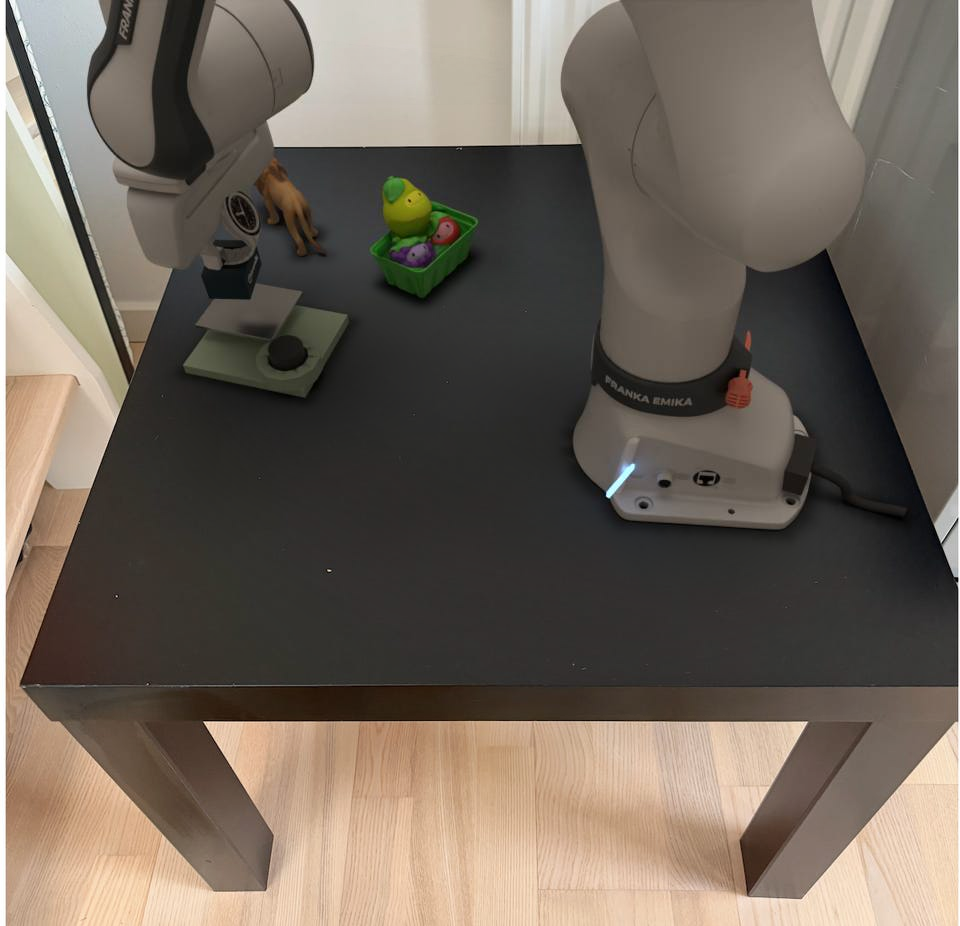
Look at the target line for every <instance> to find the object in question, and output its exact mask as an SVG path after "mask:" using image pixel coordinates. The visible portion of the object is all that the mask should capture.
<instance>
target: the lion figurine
mask: <svg viewBox="0 0 960 926" xmlns="http://www.w3.org/2000/svg"><path fill="white" fill-rule="evenodd" d="M252 186H255V187H256V190H257V191H258V193H259V194H260V195H261V196H262V198H263V201H264V204H265V207H266V209H267V211H268V212H269V217H268V218H267V224H269V225H276V224H278V223H279V222H280V216H279V213H278V212H277V209H276V206H277V207H278V209H280V210H281V211H282V213H283V218H284V221H285V225H286V227H287V229H288V231H289V233H290V235H291V236H292V238H293V239H294V241H295V243H296V246H297V247H298V248H297V249H296V254H297V256H298V257H304V256H306V255H307V253H308V251H307V248H306V246H305V243H304V240H303V239H302V237H301V235H300V234H299V230H298V219H299V222H300V225H301V227H302V230H303V232H304V235H305V236H306V239H307V240H308V241H309V243H310V244H311V245H312V246H313V247H314V248H315V249H316V250H317V251H318V253H320V254H326V253H327V252H328V251H327V249H325V248H324V247H323V246H322V245H321V244H319V243H318V242H316V241H315V240H314V238H315V237H317V236H318V234H319V233H318V230H317V229H316V228H315V227H314V224H313V219H312V218H313V217H312V213H311V211H312V210H311V208H310V205H309V203H308V200H307V198H306V197H305V196H304V194H303V193H302V192H301V191H300V190H298V189H297V188H296V187H295V185H294V184H293V183H292V182H291V180H289V178H288V173H287V170H286V169H285V167H284V165H283V164H282V163H280V162H279V160H278V159H277V158H275V156H274V155H273V160H272V161H271V163H270V164H269V165H268V166H267V168H266V169H265V170H264V172H263V173H262V174H261V175H260V177H259V178H258V179H257V180H256V182H255V183H254V184H253V185H252Z"/></svg>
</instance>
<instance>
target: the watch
mask: <svg viewBox="0 0 960 926" xmlns="http://www.w3.org/2000/svg"><path fill="white" fill-rule="evenodd" d="M234 195H237V196H235V198H234V197H233V198H232V196H234ZM221 217H222V225H221V226H222V227H223V228H224V230H226V232H228V234H229V235H231V236H232V237H233V238H235V239H215V241H214V242H213V243H212V244H213V245H214V246H215V247H223V248H224V250H225V256H226V257H227V260H226V262H225V263H224V265H223V266H222V268H221V269H220V270H214V269H208V268H207V267H206V266H205V265H204V266H203V269H202V272H201V274H200V277H201V280H202V282H203V285H204V288H205V291H206V294H207V296H208V299H209V300H214V299H239V300H251V297H252V293H253V290H254V287H255V284H256V283H257V281H258V278H259V274H260V271H261V269H262V265H263V264H262V263H263V262H262V260H261V257H260V253H259V250H258V246H257V245H258V243H259V238H260V235H261V231H262V218H261V215H260V212H259V209H258V207H257V206H256V204H255V203H254V201H253V200H252V198H251V199H250V198H249V197H248V196H247V195H246V194H245V193H244V192H242V191H238V192H234V193H232V194H231V195H228V196H227V197H226V198H225V200H224V204H223V209H222V211H221ZM197 256H198V257H200V258H201V259H202V256H201V254H198V255H197Z"/></svg>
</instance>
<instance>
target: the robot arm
mask: <svg viewBox="0 0 960 926" xmlns="http://www.w3.org/2000/svg"><path fill="white" fill-rule="evenodd" d="M98 5H99V8H100V11H101V15H102V18H103V22H104V24H105V31H104V34H103V37H102V39H101V41H100V42H99V44H98V45H97V47H96V48H95V50H94V51H93V52H92V55H91V57H90V61H89V66H88V69H87V70H88V71H87V77H86V101H87V108H88V113H89V115H90V118H91V121H92V124H93V126H94V128H95V130H96V132H97V134H98V135H99V138H100V139H101V140H102V142H103V143H104V145H105V146H106V148H107V149H108V150H109V151H110V153H112V154H113V156H115V157H114V160H113V162H112V172H113V176H114V178H115V181H116V182H117V183H118V184H119V185H122V186H126V187H128V188H127V192H126V207H127V211H128V215H129V218H130V219H129V220H130V222H131V225H132V228H133V231H134V233H135V236H136V239H137V241H138V244H139V246H140V248H141V251H142V253H143V255H144V258H146V260H147V261H148V262H150V263H151V264H153V265H155V266H158V267H161V268H165V269H172V270H179V271H184V270H187V269H188V268H189V267H190V266H191V264H192V263H193V262H194V260H195V259H196V258H197V257H198V256H199V255H198V254H201V256H202V258H201V259H202V262H203V265H204V266H206V267H207V268H208V269H214V270H220V269H221V268H222V266H223V265H224V263H225V262H226V260H227V257H226V256H225V250H224V248H223V247H215V246H214V245H213V242H214V241H215V240H216V238H215V234H216V233H217V232H218V230H219V229H220V228H221V226H223V225H222V217H221V211H222V209H223V204H224V200H225V198H226V197H227V196H228V195H231V194H232V193H234V192H238V191H242V192H244V193H245V194H246V195H247V196H248V197H249V198H250V199H251V200H252V192H251V188H252V187H253V186H254V185H253V184H254V183H255V182H256V180H257V179H258V178H259V177H260V175H261V174H262V173H263V172H264V170H265V169H266V168H267V166H268V165H269V164H270V163H271V161H272V160H273V156H274V153H275V144H274V139H273V137H272V133H271V131H270V130H271V129H270V126H269V122H268V121H269V120H270V119H271V118H273V117H274V116H276V115H277V114H279V113H280V112H282V111H284V110H285V109H286V108H288V107H289V106H291V105H293V103H295V102H296V101H298V100H299V99H300V97H302V96H303V95H305V94H306V93H307V92H308V91H309V90H310V88H311V85H312V82H313V79H314V73H315V52H314V46H313V42H312V39H311V35H310V32H309V30H308V27H307V25H306V23H305V20H304V18H303V17H302V15H301V13H300V11H299V10H298V9H297V7H296V5H294V4H293V2H292V1H291V0H98ZM560 93H561V98H562V100H563V103H564V106H565V108H566V110H567V111H568V114H569V116H570V118H571V120H572V123H573V125H574V128H575V130H576V133H577V136H578V138H579V142H580V144H581V148H582V150H583V154H584V158H585V163H586V167H587V171H588V176H589V181H590V185H591V191H592V194H593V201H594V205H595V211H596V215H597V220H598V226H599V231H600V237H601V238H600V239H601V245H602V251H603V270H604V271H603V282H602V283H603V284H602V299H601V312H600V313H601V314H600V318H599V321H598V323H597V326H596V329H595V332H594V334H593V338H592V345H591V352H590V365H589V367H590V368H589V371H590V383H591V387H590V391H589V395H588V398H587V401H586V404H585V407H584V408H583V411H582V413H581V416H580V417H579V419H578V421H577V422H576V425H575V427H574V431H573V434H572V435H573V436H572V447H573V453H574V455H575V458H576V461H577V463H578V465H579V466H580V468H581V469H582V471H583V472H584V474H585V475H586V476H587V477H588V478H589V479H590V480H591V481H592V482H594V483H595V484H596V485H597V486H598V487H599V488H600V489H601V490H602V491H604V492H605V494H606V495H605V497H607V498H608V499H609V502H610V503H611V505H612V507H613V509H614V511H615V513H616V514H617V515H618V516H619V517H621V518H622V519H624V520H627V521H633V522H647V523H648V522H649V523H663V524H665V523H666V524H677V525H679V524H680V525H696V526H711V527H712V526H713V527H724V528H725V527H727V528H728V527H729V528H742V529H743V528H745V529H759V530H775V531H776V530H783V529H786V528H787V527H789V525H791V523H792V522H794V520H795V519H796V518H797V517H798V516H799V514H800V512H801V511H802V509H803V507H804V504H805V502H806V500H807V496H808V493H809V488H810V485H811V484H810V483H811V478H812V475H815V476H817V477H819V478H821V479H824V480H826V481H828V482H830V483H832V484H833V485H835V486H837V487H838V488H839V491H840V495H841V497H842V498H843V500H845V501H846V502H847V503H849V504H850V505H852V506H854V507H856V508H859V509H861V510H864V511H868V512H873V513H879V514H885V515H890V516H895V517H899V518H904V517H905V516H906V512H907V507H905V506H901V505H898V504H897V505H896V504H891V503H886V502H879V501H875V500H870V499H867V498H863V497H861V496H859V495H857V494H855V493H853V490H852V486H851V484H850V482H849V481H848V480H847V479H846V478H845V477H843V476H842V475H840V474H839V473H837V472H836V471H833V470H831V469H829V468H826V467H824V466H822V465H820V464H818V463H815V462H814V460H815V456H816V451H817V448H818V444H819V441H820V440H819V439H818V438H814V437H810V436H809V434H808V432H807V430H806V428H805V426H804V424H803V423H802V421H801V420H800V418H798V416H796V415H794V412H793V407H792V404H791V401H790V398H789V396H788V395H787V393H786V392H785V391H784V389H783V388H782V387H780V386H779V385H778V384H776V383H775V382H773V381H771V380H770V379H769V378H768V377H765V376H764V374H761V373H760V372H758V371H757V370H756V369H755V368H753V367H752V364H753V363H752V361H753V355H752V352H751V346H752V337H751V331H750V330H747V332H746V335H745V336H746V337H745V339H744V344H743V342H742V341H741V340H740V339H738V337H737V336H736V335H735V330H736V325H737V320H738V317H739V313H740V309H741V305H742V301H743V297H744V293H745V288H746V283H747V267H748V268H750V269H753V270H754V271H758V272H761V273H774V272H780V271H783V270H787V269H791V268H793V267H796V266H799V265H802V264H803V263H805V262H807V261H809V260H810V259H812V258H815V257H816V256H817V255H818V254H820V253H821V252H823V251H824V250H825V249H827V248H828V247H829V246H830V245H831V244H832V243H834V241H835V240H836V239H837V238H838V237H839V236H840V235H841V233H842V232H843V231H844V230H845V229H846V227H847V226H848V224H849V223H850V221H851V220H852V218H853V216H854V214H855V212H856V210H857V207H858V205H859V203H860V200H861V198H862V193H863V189H864V184H865V178H866V168H867V167H866V166H867V165H866V157H865V155H866V154H865V152H864V149H863V147H862V146H861V144H860V143H859V141H858V139H857V137H856V135H855V134H854V133H853V131H852V129H851V127H850V125H849V123H848V122H847V120H846V118H845V116H844V114H843V112H842V110H841V107H840V105H839V103H838V101H837V99H836V95H835V93H834V90H833V87H832V84H831V81H830V77H829V74H828V71H827V67H826V64H825V59H824V55H823V51H822V47H821V43H820V38H819V33H818V28H817V23H816V18H815V13H814V8H813V2H812V0H617V1H614V2H611V3H610V4H608V5H605V6H604V7H602V8H600V9H599V10H598V11H596V12H594V14H592V15H591V16H590V17H589V18H588V19H587V20H586V21H585V22H584V24H583V25H582V26H581V27H580V28H579V29H578V31H577V32H576V34H575V36H574V37H573V38H572V40H571V42H570V44H569V45H568V48H567V50H566V53H565V55H564V58H563V62H562V66H561V71H560ZM235 196H237V195H234V196H232V198H233V197H234V198H235ZM789 503H790V504H789ZM641 507H644V508H641Z"/></svg>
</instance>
